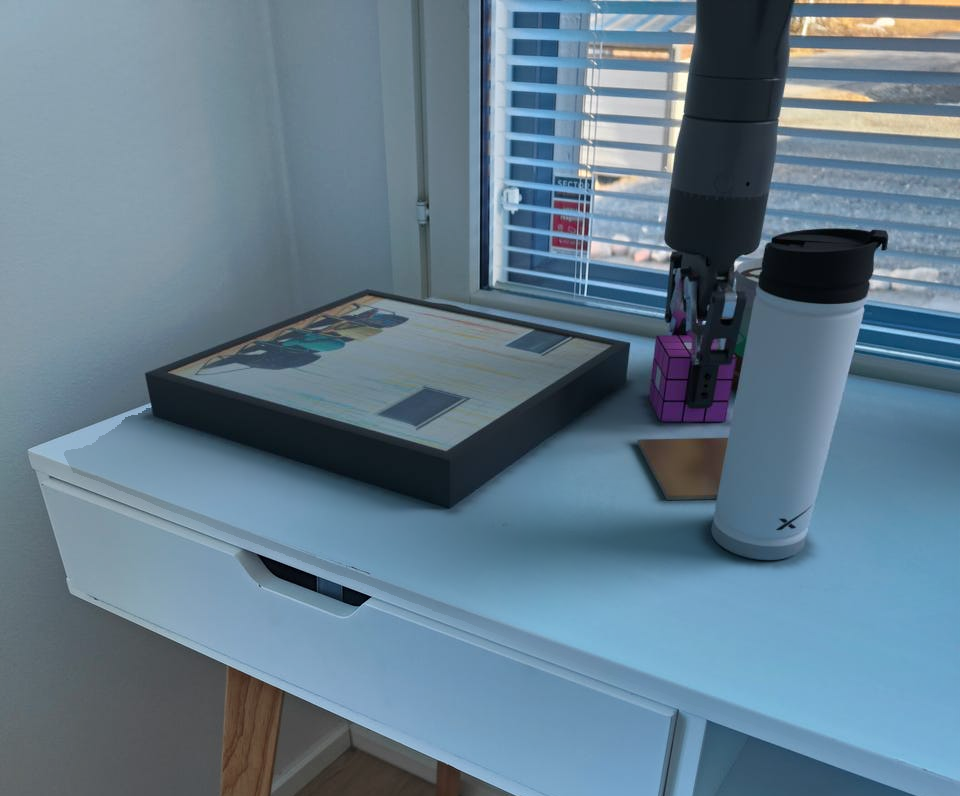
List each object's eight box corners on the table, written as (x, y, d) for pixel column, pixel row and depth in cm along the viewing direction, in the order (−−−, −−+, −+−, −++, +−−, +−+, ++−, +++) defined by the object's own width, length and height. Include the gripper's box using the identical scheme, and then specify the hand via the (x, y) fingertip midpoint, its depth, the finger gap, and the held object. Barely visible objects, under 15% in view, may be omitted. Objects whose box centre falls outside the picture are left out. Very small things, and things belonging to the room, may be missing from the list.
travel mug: (805, 570, 61) (890, 246, 49) (703, 551, 63) (762, 234, 51) (812, 527, 66) (891, 222, 54) (717, 510, 67) (774, 212, 56)
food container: (695, 361, 93) (712, 256, 87) (755, 360, 93) (775, 255, 88) (736, 409, 83) (758, 294, 77) (803, 407, 83) (829, 293, 78)
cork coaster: (755, 441, 77) (755, 437, 77) (798, 497, 69) (799, 492, 69) (636, 443, 77) (637, 439, 76) (666, 500, 68) (667, 495, 68)
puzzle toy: (660, 422, 80) (669, 357, 77) (648, 397, 85) (656, 334, 81) (725, 422, 80) (737, 357, 77) (709, 397, 85) (720, 335, 82)
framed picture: (367, 288, 98) (630, 342, 86) (369, 324, 101) (626, 382, 88) (144, 373, 77) (449, 460, 65) (153, 415, 80) (450, 508, 67)
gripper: (801, 202, 66) (755, 425, 76) (739, 166, 78) (706, 364, 88) (698, 202, 66) (666, 426, 76) (651, 166, 77) (628, 365, 87)
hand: (688, 392), depth 82 cm, fingers closed on puzzle toy, 6 cm apart
